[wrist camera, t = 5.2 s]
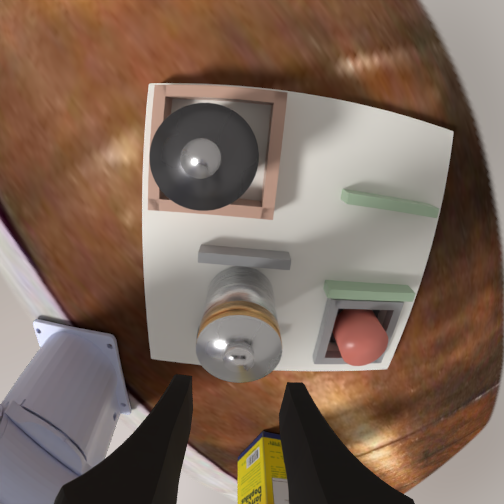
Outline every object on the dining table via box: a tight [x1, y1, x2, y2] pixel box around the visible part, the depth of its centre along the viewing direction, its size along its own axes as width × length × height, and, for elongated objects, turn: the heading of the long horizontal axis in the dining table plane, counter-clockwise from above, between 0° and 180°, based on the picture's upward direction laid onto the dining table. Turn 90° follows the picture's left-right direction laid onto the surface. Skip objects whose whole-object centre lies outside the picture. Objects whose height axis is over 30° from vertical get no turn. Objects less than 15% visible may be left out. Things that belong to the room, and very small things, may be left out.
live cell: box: [196, 266, 282, 383], centre depth 16 cm, size 4×4×6 cm
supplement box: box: [238, 431, 289, 504], centre depth 22 cm, size 6×6×11 cm
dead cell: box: [149, 103, 259, 211], centre depth 13 cm, size 4×4×6 cm
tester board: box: [142, 83, 454, 371], centre depth 18 cm, size 18×18×3 cm
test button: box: [332, 309, 388, 366], centre depth 19 cm, size 3×3×3 cm
